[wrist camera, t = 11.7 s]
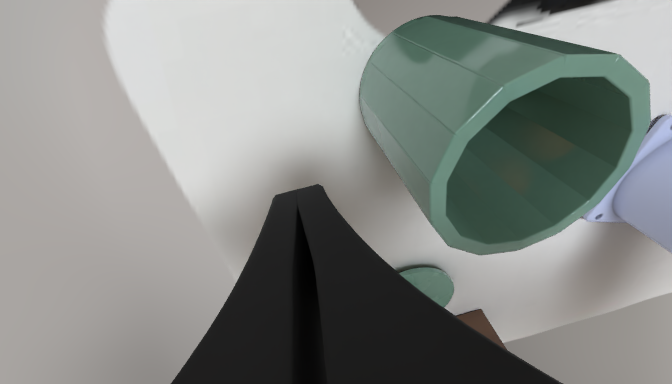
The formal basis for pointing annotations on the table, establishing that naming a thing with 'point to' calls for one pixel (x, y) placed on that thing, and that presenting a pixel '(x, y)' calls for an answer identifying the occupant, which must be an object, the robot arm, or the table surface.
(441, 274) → the lid
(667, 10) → the table surface
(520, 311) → the table surface
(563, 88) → the tin
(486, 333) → the block
